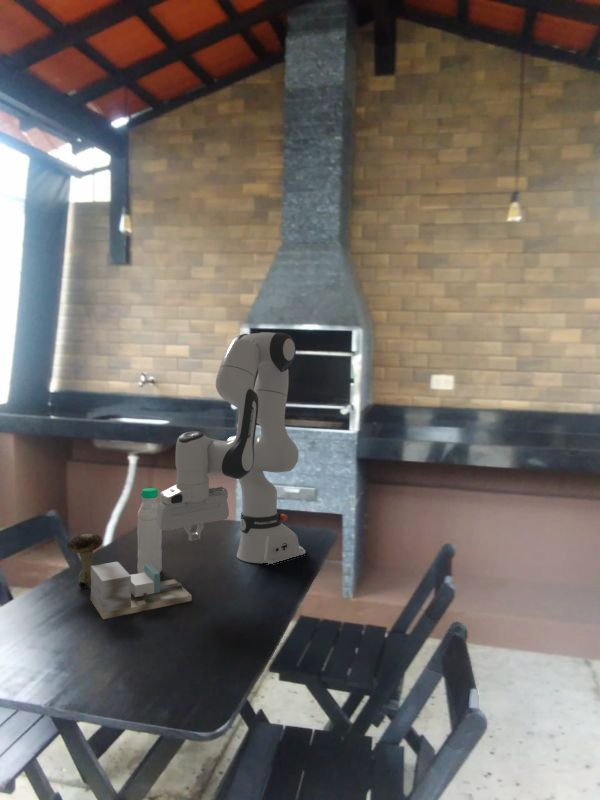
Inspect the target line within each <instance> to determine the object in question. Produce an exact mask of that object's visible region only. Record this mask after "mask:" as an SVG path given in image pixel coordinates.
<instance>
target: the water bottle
mask: <svg viewBox="0 0 600 800" xmlns="http://www.w3.org/2000/svg"><path fill="white" fill-rule="evenodd" d="M140 493H141V494H140V495H141V496H140V497H141V499H142V503H140V507H139V509H138V511H137V514H136V515H137V555H136V556H137V568H136V569H137V574H138V573H143V572H145V566H144V565H148V564H151V565H152V566H153V567H154V568H155V569H156V570H157V571H158V572H159V573H160V574H161V572H162V569H163V564H162V563H163V561H162V556H163V554H162V553H163V552H162V551H163V550H162V541H163V537H162V536H163V531H162V530H161V529H160V528H159V527H158V526H157V508H158V505H159V502H157V499H158V497H159V491H158V489H157V488H153V487H149V488H143V489H142V490H141V491H140Z"/></svg>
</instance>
